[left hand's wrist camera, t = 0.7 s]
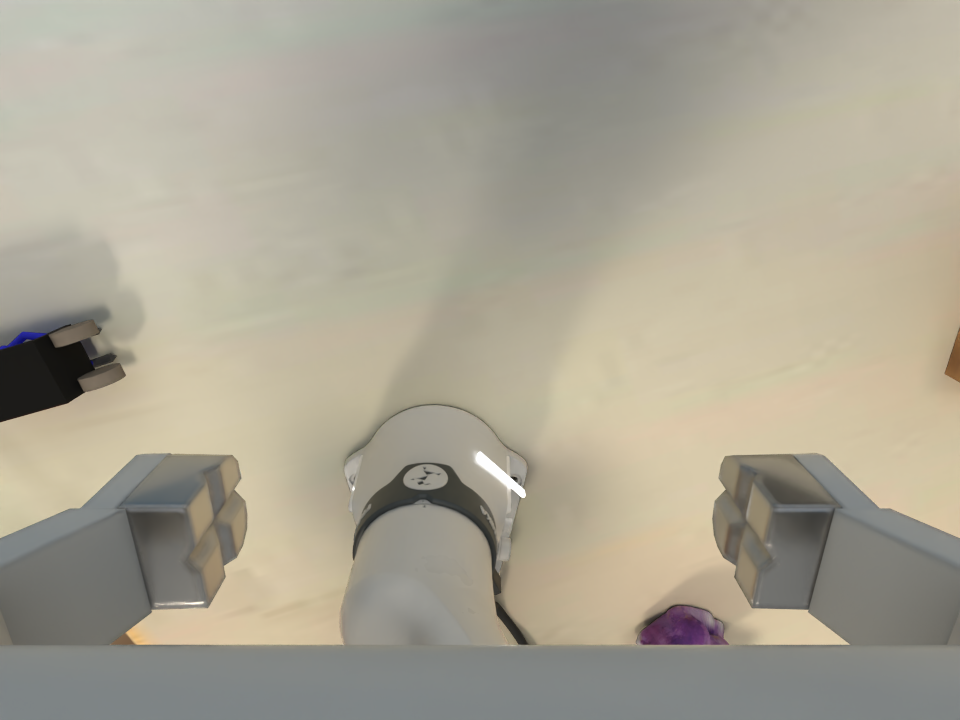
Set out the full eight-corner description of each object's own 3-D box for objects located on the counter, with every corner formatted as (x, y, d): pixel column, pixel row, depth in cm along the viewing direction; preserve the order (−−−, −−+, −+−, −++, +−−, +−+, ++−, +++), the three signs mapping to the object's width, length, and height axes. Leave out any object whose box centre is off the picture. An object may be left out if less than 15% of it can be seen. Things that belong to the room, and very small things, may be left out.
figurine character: (113, 299, 57) (-37, 348, 57) (71, 322, 50) (-101, 378, 50) (148, 362, 59) (3, 408, 59) (112, 392, 52) (-52, 445, 52)
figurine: (745, 628, 70) (810, 754, 57) (674, 671, 73) (720, 801, 59) (699, 582, 68) (755, 702, 54) (627, 628, 70) (663, 754, 57)
